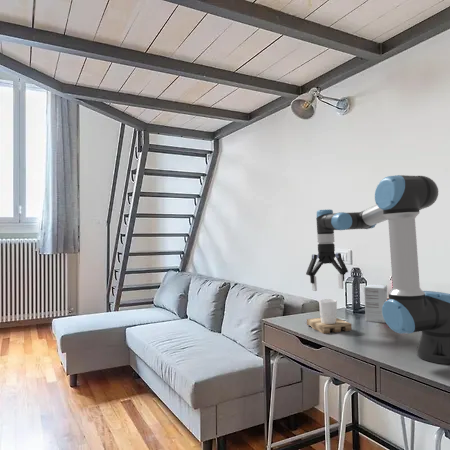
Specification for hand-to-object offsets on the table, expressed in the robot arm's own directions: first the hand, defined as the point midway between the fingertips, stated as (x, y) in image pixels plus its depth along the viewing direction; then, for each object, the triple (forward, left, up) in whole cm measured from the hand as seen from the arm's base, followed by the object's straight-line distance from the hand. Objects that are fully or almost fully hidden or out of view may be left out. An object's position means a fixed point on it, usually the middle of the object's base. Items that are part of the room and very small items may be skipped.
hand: (327, 289), depth 188 cm
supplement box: (+6, -30, -19) cm, 36 cm away
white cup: (0, 0, -15) cm, 15 cm away
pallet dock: (+2, -1, -18) cm, 18 cm away
